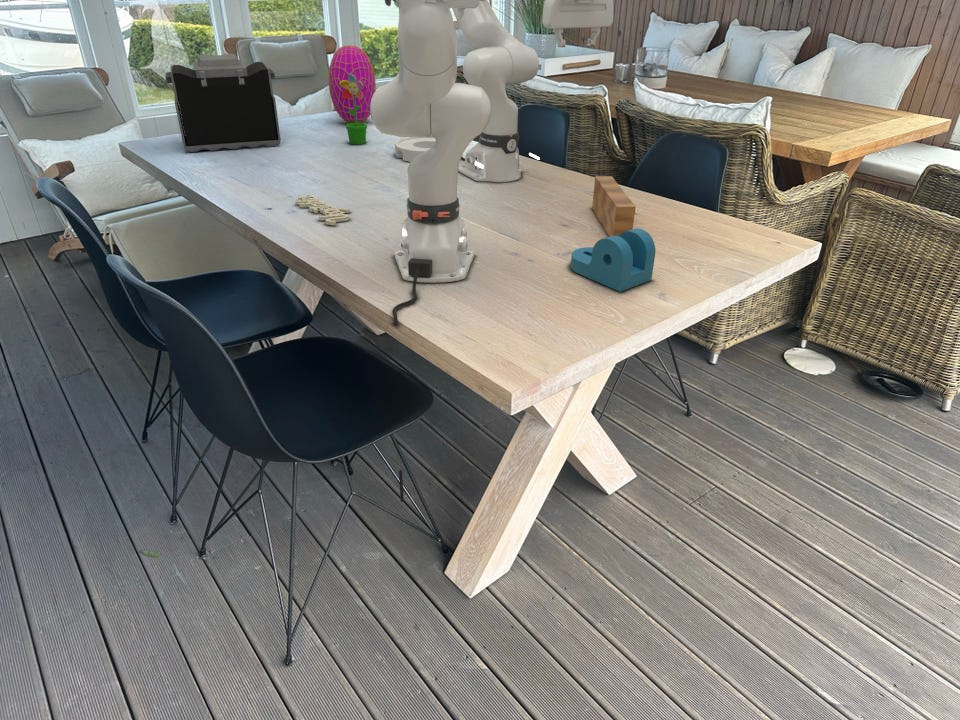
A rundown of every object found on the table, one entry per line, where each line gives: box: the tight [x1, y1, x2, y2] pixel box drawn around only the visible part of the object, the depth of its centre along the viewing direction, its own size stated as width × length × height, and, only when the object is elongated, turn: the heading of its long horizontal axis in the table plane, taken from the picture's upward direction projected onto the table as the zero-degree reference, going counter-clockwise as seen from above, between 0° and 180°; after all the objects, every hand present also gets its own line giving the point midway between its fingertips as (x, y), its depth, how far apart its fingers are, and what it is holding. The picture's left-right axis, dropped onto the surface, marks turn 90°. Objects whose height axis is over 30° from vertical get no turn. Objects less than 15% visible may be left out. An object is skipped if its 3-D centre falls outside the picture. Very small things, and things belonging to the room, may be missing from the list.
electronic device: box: [164, 53, 282, 153], centre depth 252 cm, size 37×22×30 cm, turn 111°
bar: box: [591, 175, 636, 237], centre depth 183 cm, size 27×5×9 cm, turn 3°
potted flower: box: [339, 73, 368, 145], centre depth 255 cm, size 9×8×25 cm
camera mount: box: [570, 227, 656, 293], centre depth 154 cm, size 18×10×10 cm, turn 39°
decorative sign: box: [295, 194, 351, 226], centre depth 192 cm, size 26×1×10 cm
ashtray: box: [394, 135, 436, 163], centre depth 246 cm, size 23×23×4 cm
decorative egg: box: [328, 44, 377, 124], centre depth 286 cm, size 19×19×30 cm
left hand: (437, 29), depth 166 cm, fingers open, 8 cm apart
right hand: (576, 46), depth 183 cm, fingers open, 8 cm apart
